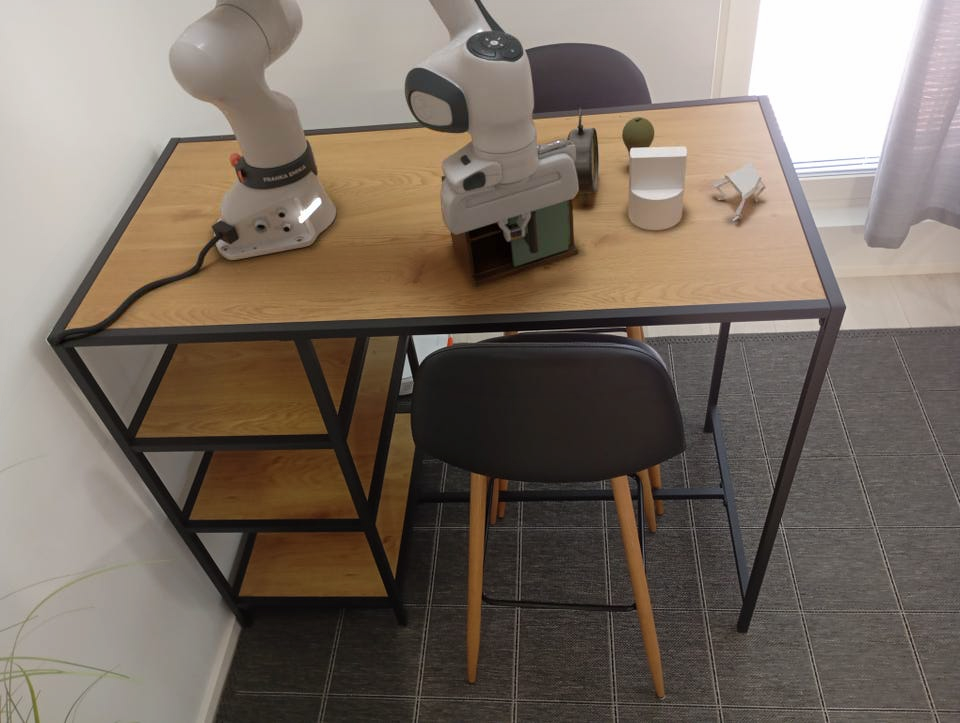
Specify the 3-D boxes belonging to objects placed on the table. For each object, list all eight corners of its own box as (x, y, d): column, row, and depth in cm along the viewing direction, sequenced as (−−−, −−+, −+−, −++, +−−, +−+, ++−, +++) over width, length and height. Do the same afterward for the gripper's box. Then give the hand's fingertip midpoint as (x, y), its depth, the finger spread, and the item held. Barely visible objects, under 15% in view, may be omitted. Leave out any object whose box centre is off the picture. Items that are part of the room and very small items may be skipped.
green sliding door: (524, 281, 125) (518, 216, 116) (512, 264, 128) (506, 199, 119) (579, 263, 126) (577, 198, 117) (566, 246, 130) (563, 181, 121)
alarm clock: (594, 210, 138) (593, 126, 126) (563, 210, 139) (559, 126, 127) (600, 176, 145) (599, 93, 134) (570, 175, 146) (567, 93, 135)
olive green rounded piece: (645, 180, 143) (647, 129, 135) (616, 173, 145) (617, 124, 138) (657, 164, 146) (660, 114, 139) (629, 158, 148) (630, 109, 141)
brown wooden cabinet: (476, 287, 127) (464, 210, 116) (453, 247, 135) (440, 172, 124) (578, 254, 130) (576, 176, 119) (550, 217, 138) (545, 141, 127)
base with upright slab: (628, 230, 133) (629, 168, 124) (628, 199, 139) (629, 138, 130) (683, 229, 131) (688, 166, 123) (681, 198, 137) (686, 136, 129)
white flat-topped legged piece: (708, 187, 139) (711, 162, 135) (758, 184, 138) (762, 159, 134) (718, 227, 130) (721, 202, 127) (770, 225, 129) (775, 200, 126)
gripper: (565, 125, 113) (569, 206, 123) (430, 165, 109) (445, 245, 119) (584, 145, 108) (587, 227, 118) (444, 187, 105) (458, 268, 115)
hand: (514, 237), depth 119 cm, fingers closed
